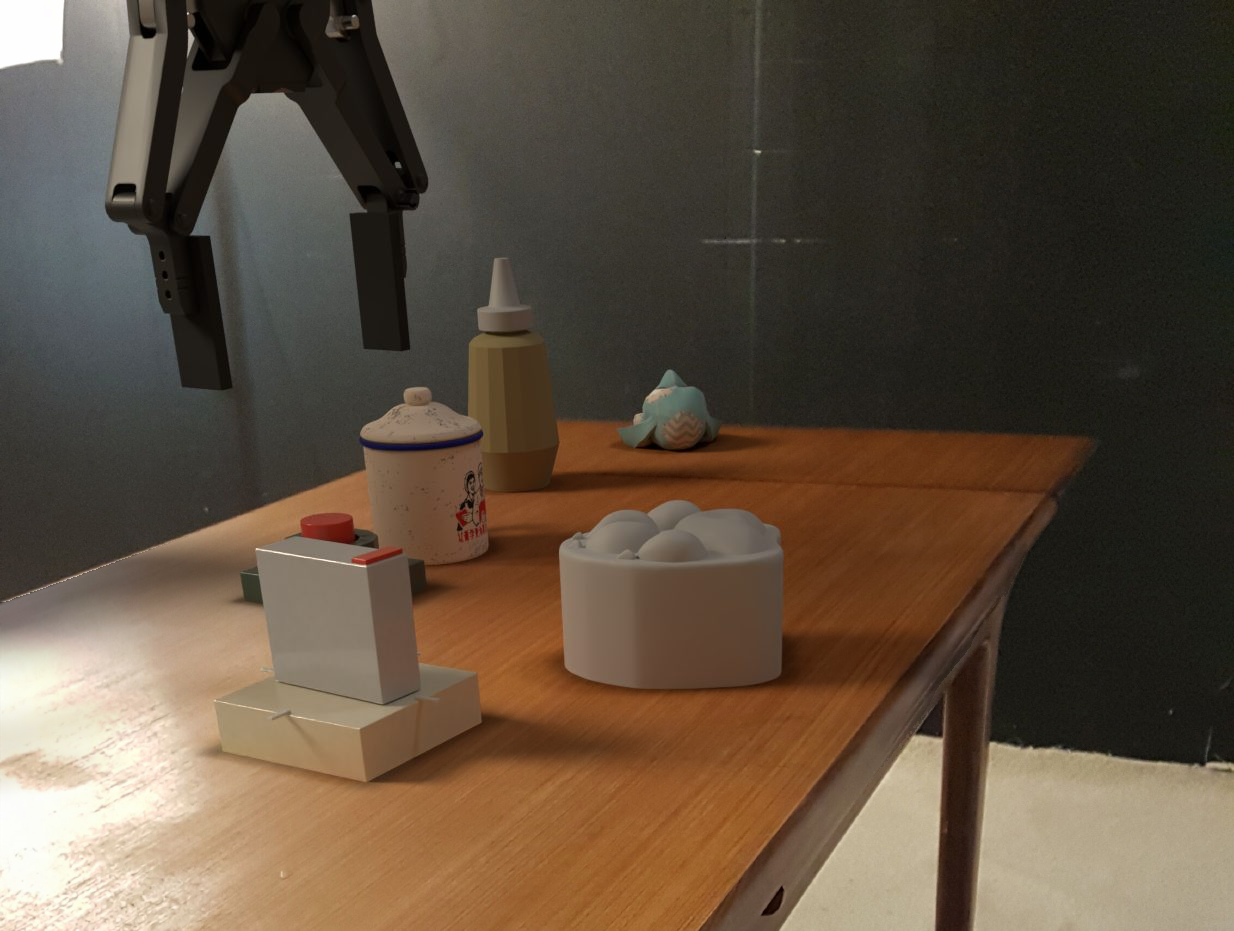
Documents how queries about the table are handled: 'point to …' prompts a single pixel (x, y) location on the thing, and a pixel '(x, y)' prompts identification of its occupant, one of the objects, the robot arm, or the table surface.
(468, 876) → the table surface
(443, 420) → the teacup with lid
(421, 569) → the button box
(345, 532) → the red button
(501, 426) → the squeeze bottle
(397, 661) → the tap lever
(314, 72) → the robot arm
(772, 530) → the lumpy-topped squat cylinder
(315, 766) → the panel
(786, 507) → the table surface
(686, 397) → the stuffed animal
